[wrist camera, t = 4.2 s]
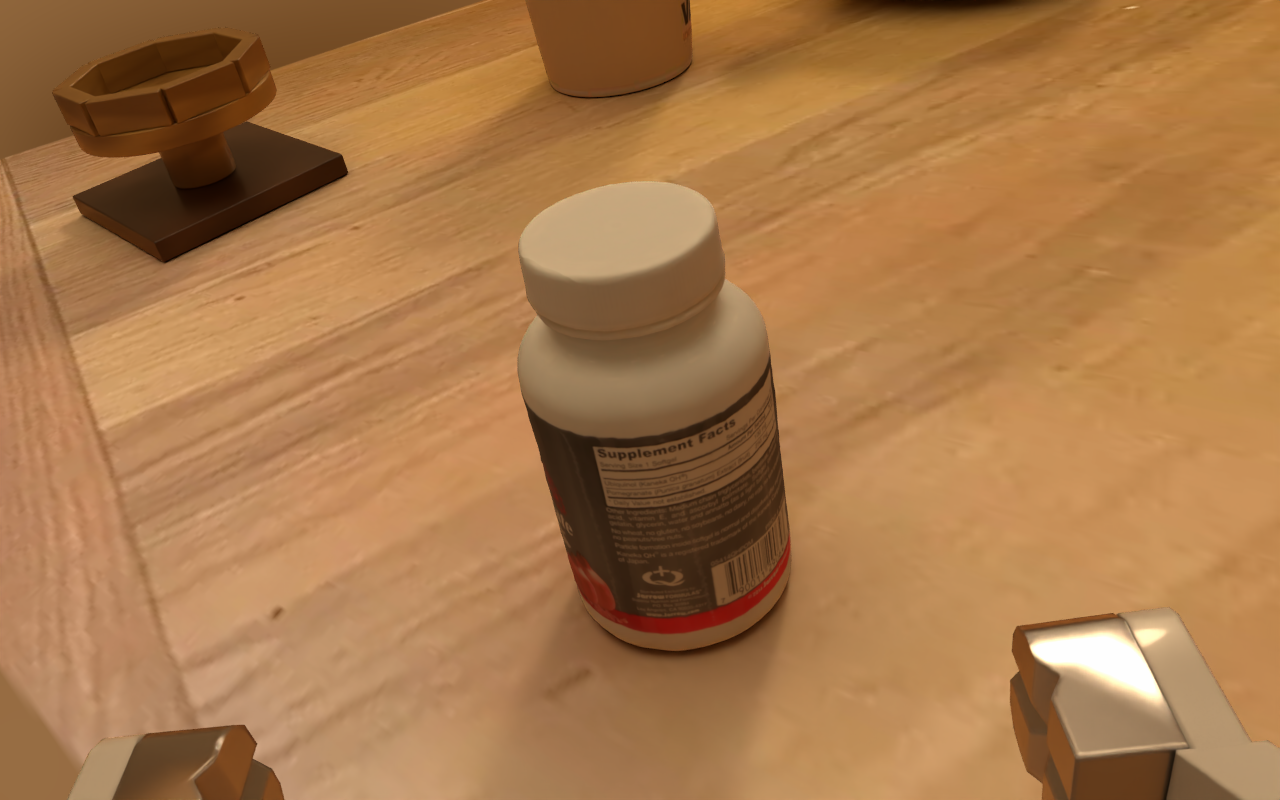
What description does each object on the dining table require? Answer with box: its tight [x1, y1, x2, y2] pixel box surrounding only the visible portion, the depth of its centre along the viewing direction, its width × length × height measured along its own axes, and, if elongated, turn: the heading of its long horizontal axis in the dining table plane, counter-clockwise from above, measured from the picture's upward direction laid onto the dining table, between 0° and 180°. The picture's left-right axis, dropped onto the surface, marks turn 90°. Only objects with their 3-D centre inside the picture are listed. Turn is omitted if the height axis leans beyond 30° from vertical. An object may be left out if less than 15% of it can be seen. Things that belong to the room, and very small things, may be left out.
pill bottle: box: [518, 181, 791, 651], centre depth 24 cm, size 5×5×10 cm
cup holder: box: [52, 27, 348, 262], centre depth 51 cm, size 10×10×6 cm
